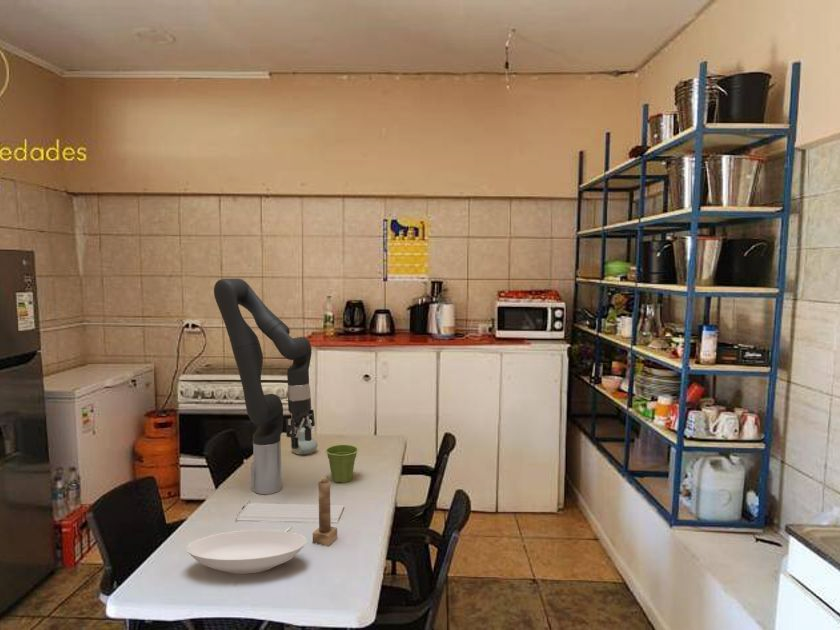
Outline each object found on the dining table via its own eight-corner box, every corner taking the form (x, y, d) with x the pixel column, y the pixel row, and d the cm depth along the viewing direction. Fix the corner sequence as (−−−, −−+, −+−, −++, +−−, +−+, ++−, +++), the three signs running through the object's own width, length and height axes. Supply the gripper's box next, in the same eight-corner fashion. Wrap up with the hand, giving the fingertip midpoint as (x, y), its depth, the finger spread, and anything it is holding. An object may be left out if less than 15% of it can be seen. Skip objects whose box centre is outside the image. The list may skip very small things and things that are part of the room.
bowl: (177, 586, 129) (176, 562, 129) (198, 553, 144) (197, 531, 144) (302, 581, 131) (301, 557, 131) (310, 549, 146) (310, 528, 146)
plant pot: (348, 487, 187) (348, 456, 186) (319, 483, 192) (319, 452, 191) (364, 476, 198) (364, 446, 197) (336, 471, 203) (336, 442, 202)
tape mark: (277, 536, 153) (277, 536, 153) (289, 527, 158) (289, 526, 158) (280, 537, 152) (280, 536, 152) (292, 527, 158) (292, 527, 158)
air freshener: (320, 453, 223) (320, 429, 222) (304, 458, 217) (303, 434, 216) (304, 447, 230) (304, 424, 230) (288, 452, 224) (288, 429, 223)
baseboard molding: (336, 527, 160) (344, 510, 172) (336, 518, 159) (344, 501, 171) (235, 525, 161) (249, 507, 173) (234, 516, 161) (249, 499, 173)
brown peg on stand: (312, 543, 149) (311, 480, 148) (322, 534, 154) (321, 473, 153) (328, 546, 148) (327, 482, 146) (337, 537, 153) (337, 475, 151)
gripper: (300, 392, 186) (302, 437, 187) (277, 401, 173) (280, 450, 174) (319, 392, 184) (322, 438, 185) (297, 402, 170) (300, 452, 172)
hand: (301, 444), depth 179 cm, fingers open, 8 cm apart
